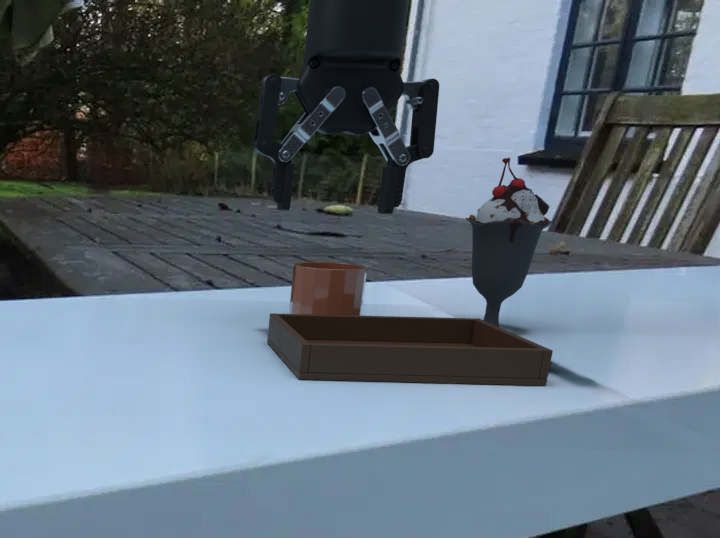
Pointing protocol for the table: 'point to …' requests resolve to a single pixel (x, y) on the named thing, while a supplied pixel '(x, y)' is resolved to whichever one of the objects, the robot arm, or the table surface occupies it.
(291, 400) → the table surface
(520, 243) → the sundae
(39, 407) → the table surface
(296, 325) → the tray
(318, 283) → the terracotta flower pot
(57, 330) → the table surface
